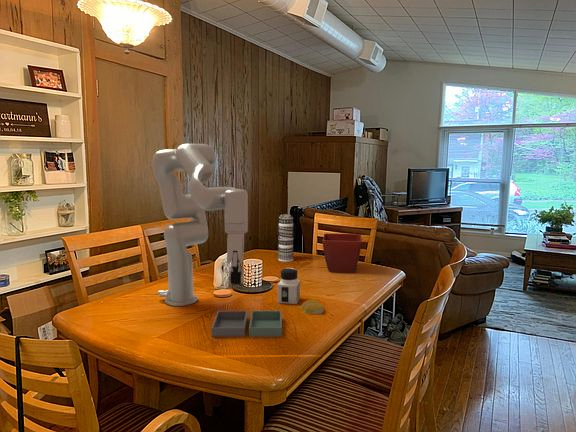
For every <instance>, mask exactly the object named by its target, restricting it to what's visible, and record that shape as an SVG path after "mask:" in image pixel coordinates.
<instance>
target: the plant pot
mask: <svg viewBox="0 0 576 432" xmlns="http://www.w3.org/2000/svg"><path fill="white" fill-rule="evenodd" d="M321 242H322V249H323V254H324V259H325V263H326V268H327V271H328V272H329V273H348V274H349V273H351V274H355V272H356V269H357V266H358V263H359V259H360V255H361V251H362V250H361V249H362V246H363V245H362V243H363V240H362V234H359V233H358V234H357V233H327V232H326V233H324V234H323V237H322V241H321Z"/></svg>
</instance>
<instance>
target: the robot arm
mask: <svg viewBox="0 0 576 432" xmlns="http://www.w3.org/2000/svg"><path fill="white" fill-rule="evenodd" d="M215 160H216V155H215V150H214V148H213V147H212V146H210V145H209V144H206V143H183V144H181V145H179V146H178V147H177V148H174V149H173V148H168V149H161V150H158V151H156V152H155V153H154V155H153V157H152V161H151V162H152V163H151V164H152V171H153V174H154V177H155V180H156V182H157V184H158V187H159V194H160V198H161V203H162V209H163V213H164V216H165V217H166V218H167V219H168V220H172V221H173V220H183V219H184V220H185V219H189V220H190V221H189V220H188V221H181V222H174V223H170V224H168V225H167V226H166V227H165V228H164V231H163V239H164V243H165V247H166V255H167V257H166V258H167V276H168V277H167V278H168V289H166V290H158V292H157V295H158V296H159V297H160V298H161V297H162V298H163V297H165V299H164V303H165V304H166V305H169V306H173V307H183V306H189V305H192V304H195V303H196V302H197V301H198V299H199V297H198V295H197V294H195V293H194V268H193V267H194V264H193V256H192V254H191V251H189V249H188V248H187V247H189V246H195V245H200V244H204V243H206V241H207V240H208V238H209V228H208V220H207V215H206V211H208V212H209V211H210V212H211V211H218V210H224V233H226V234H227V239H226V240H227V241H226V263H227V264H230V263H231V266H230V267H231V284H230V285H240V283H241V272H240V267H242V263H243V258H244V254H245V253H244V251H245V234H246V233H249V232H248V231H249V227H248V226H249V207H248V205H249V201H248V200H249V195H248V191H247V190H246V189H242V188H235V187H233V186H215V187H213V186H211V187H206V186H205V185H204V184H205V183H207V182H208V181H209V180H210V179H211V178H212V177H213V174H214V167H213V166H212V165H213V164H214V163H215ZM173 172H185V173H186V174H187V175H188V176H189V178H190V179H189V181H188V182H189V184H188V187H189V193H190V194H187V193H186V194H184V192H183V191H184V190H183V185H182V182H181V181H180V179H179V178H178V177H177V175H176V174H174V173H173Z"/></svg>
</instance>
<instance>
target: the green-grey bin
mask: <svg viewBox="0 0 576 432" xmlns="http://www.w3.org/2000/svg"><path fill="white" fill-rule="evenodd" d="M282 316H283V315H282V310H251V313H250V321H249V326H248V336H249V338H250V337H251V338H255V337H257V338H258V337H260V338H261V337H265V338H266V337H268V338H269V337H275V338H276V337H279V338H280V337H283V327H282V326H283V325H282V323H283V318H282Z"/></svg>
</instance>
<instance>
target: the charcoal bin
mask: <svg viewBox="0 0 576 432" xmlns="http://www.w3.org/2000/svg"><path fill="white" fill-rule="evenodd" d="M248 313H249V312H248V310H218V311H217V312H216V314H215V318H214V320H213V323H212V326H211V332H210V333H211V337H212V338H222V337H223V338H231V337H232V338H237V337H239V338H243V337H245V334H246V330H247V324H248Z"/></svg>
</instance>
